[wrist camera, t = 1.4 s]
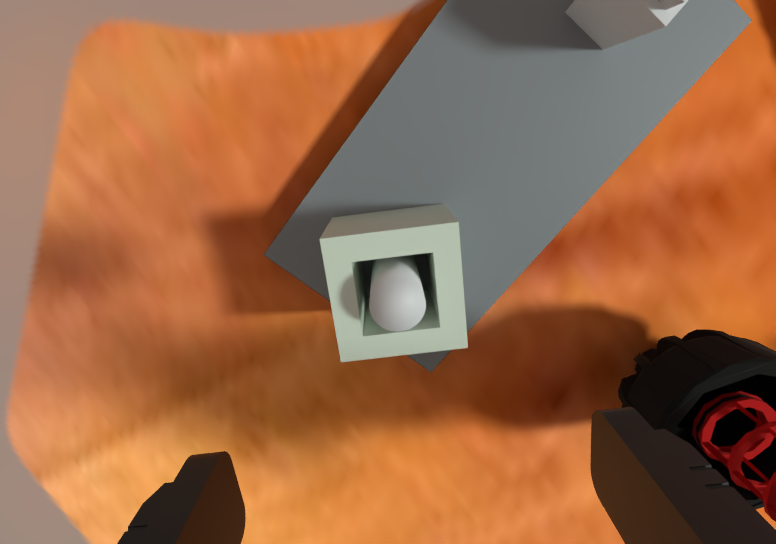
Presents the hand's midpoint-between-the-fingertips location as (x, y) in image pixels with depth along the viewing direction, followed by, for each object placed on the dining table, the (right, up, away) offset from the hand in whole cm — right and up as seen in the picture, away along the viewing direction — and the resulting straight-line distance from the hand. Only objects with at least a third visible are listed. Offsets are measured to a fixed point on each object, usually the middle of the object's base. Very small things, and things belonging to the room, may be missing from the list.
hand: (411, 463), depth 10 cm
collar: (0, +5, +15) cm, 16 cm away
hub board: (+5, +11, +14) cm, 19 cm away
